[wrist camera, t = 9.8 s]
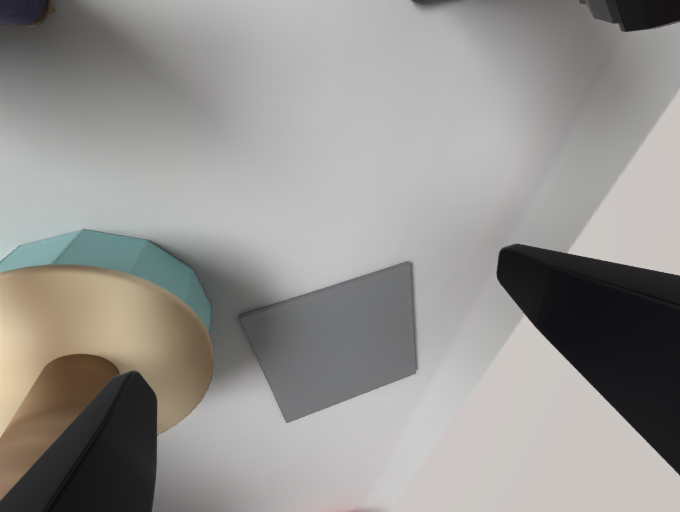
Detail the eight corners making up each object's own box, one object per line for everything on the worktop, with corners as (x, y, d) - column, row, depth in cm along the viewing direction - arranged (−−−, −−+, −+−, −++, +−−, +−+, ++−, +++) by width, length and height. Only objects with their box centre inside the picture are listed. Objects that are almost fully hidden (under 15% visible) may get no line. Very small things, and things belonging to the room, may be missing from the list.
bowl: (163, 208, 18) (147, 240, 14) (232, 347, 24) (233, 392, 20) (-74, 268, 16) (-154, 321, 12) (67, 402, 22) (38, 462, 18)
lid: (155, 231, 14) (107, 336, 9) (241, 394, 21) (247, 516, 15) (-172, 317, 12) (-514, 527, 7) (36, 468, 19) (-47, 640, 13)
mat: (407, 261, 25) (410, 264, 24) (414, 370, 32) (416, 373, 31) (239, 315, 22) (239, 319, 22) (285, 419, 29) (286, 423, 29)
